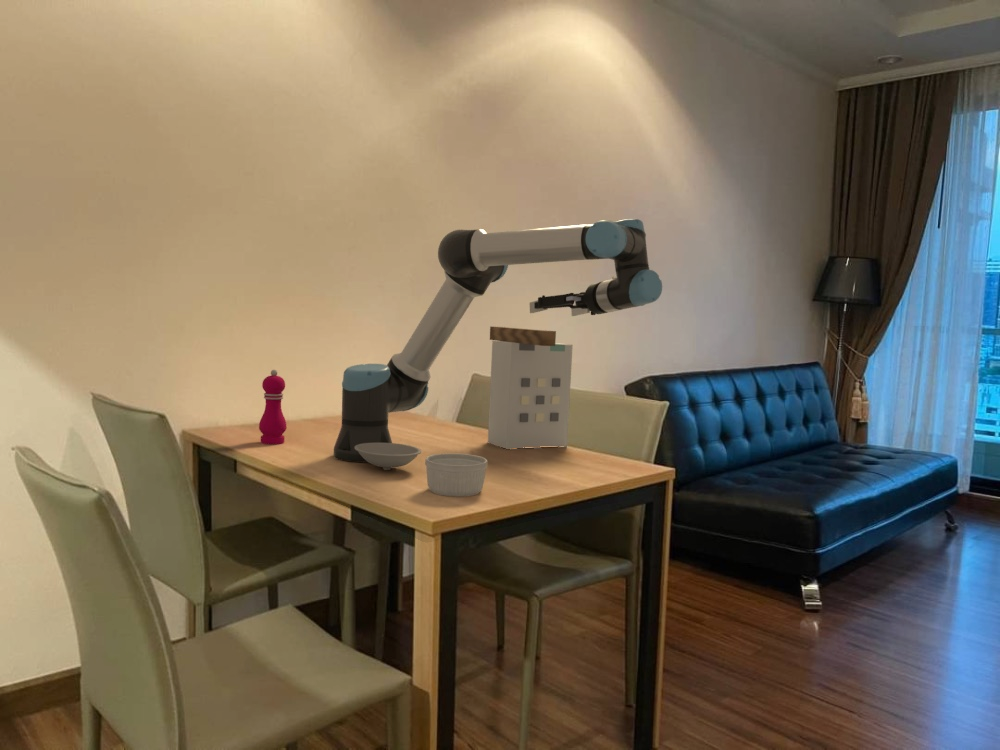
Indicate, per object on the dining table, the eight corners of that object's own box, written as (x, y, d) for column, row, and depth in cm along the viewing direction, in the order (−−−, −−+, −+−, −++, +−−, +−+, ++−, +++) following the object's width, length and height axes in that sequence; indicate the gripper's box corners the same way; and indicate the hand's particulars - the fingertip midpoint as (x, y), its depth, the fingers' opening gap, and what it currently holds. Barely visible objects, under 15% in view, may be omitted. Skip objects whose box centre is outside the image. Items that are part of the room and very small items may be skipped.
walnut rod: (555, 346, 208) (555, 331, 208) (542, 345, 207) (543, 330, 206) (501, 340, 237) (502, 326, 237) (489, 339, 235) (490, 326, 235)
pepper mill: (290, 441, 215) (291, 369, 214) (280, 445, 208) (282, 371, 207) (264, 439, 216) (266, 368, 215) (254, 443, 209) (255, 369, 207)
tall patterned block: (568, 447, 227) (573, 344, 224) (507, 450, 218) (512, 343, 215) (546, 440, 238) (551, 342, 236) (487, 442, 229) (492, 340, 227)
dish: (434, 472, 183) (435, 451, 183) (387, 479, 173) (388, 457, 172) (387, 460, 195) (387, 440, 195) (339, 466, 185) (340, 445, 184)
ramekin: (470, 501, 157) (472, 467, 156) (412, 493, 162) (414, 460, 161) (495, 489, 169) (496, 457, 169) (440, 481, 174) (442, 450, 173)
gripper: (644, 285, 191) (588, 298, 209) (564, 276, 178) (512, 291, 195) (645, 315, 191) (589, 326, 209) (565, 309, 177) (513, 321, 195)
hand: (551, 309), depth 202 cm, fingers open, 13 cm apart
